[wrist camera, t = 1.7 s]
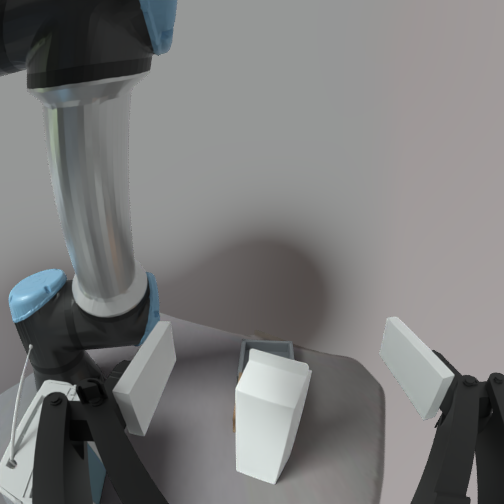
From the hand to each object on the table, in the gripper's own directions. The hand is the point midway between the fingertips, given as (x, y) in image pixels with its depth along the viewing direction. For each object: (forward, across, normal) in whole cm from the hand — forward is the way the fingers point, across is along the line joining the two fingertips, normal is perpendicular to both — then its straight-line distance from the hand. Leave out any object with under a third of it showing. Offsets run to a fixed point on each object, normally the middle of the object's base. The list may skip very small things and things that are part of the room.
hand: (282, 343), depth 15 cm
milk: (+9, 0, -28) cm, 30 cm away
